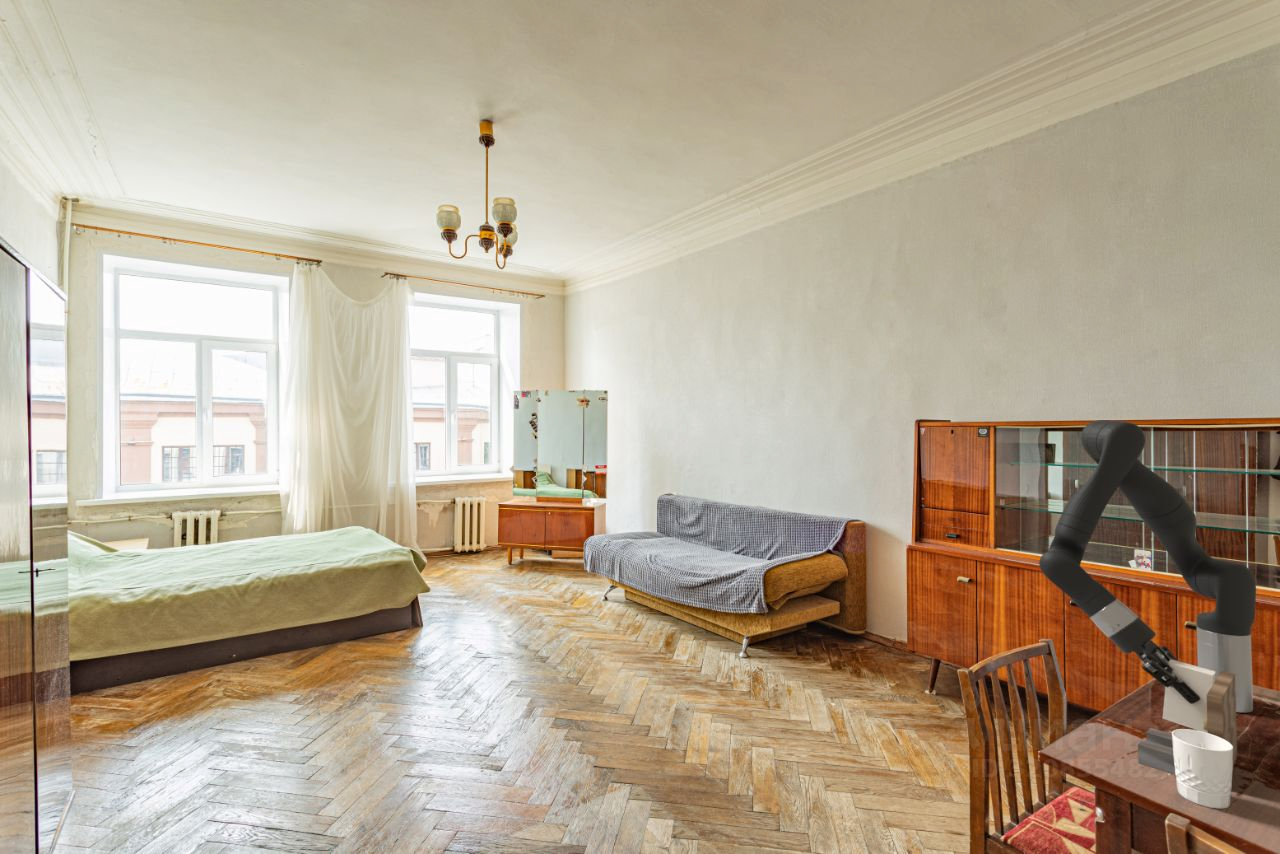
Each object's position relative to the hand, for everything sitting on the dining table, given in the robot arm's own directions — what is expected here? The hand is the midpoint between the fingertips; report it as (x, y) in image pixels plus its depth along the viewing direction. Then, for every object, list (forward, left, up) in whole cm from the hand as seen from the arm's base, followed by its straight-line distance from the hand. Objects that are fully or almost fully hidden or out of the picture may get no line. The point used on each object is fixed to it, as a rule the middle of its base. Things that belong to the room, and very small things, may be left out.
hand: (1197, 698), depth 126 cm
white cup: (+25, +4, -9) cm, 27 cm away
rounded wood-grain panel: (+11, 0, -9) cm, 14 cm away
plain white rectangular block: (0, -2, -6) cm, 6 cm away
